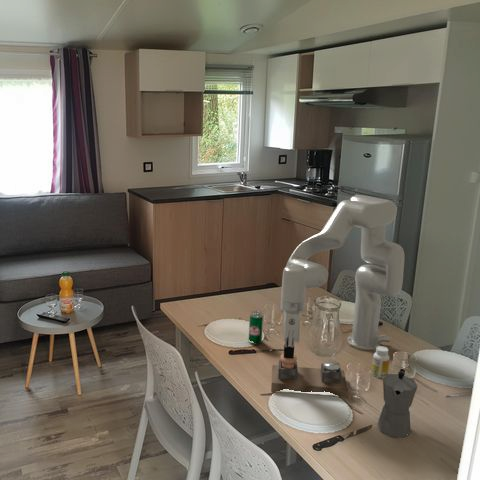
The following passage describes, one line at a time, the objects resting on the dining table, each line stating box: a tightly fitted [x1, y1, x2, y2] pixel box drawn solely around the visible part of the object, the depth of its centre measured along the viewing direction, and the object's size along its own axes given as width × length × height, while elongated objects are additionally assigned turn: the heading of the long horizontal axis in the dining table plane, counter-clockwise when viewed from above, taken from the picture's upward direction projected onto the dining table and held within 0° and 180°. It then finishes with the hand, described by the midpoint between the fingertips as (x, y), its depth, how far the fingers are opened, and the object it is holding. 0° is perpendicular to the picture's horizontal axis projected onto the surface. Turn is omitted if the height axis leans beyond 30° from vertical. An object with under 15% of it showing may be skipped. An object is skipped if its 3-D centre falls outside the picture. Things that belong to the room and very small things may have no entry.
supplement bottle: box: [371, 345, 390, 379], centre depth 184 cm, size 5×5×10 cm
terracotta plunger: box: [280, 353, 298, 369], centre depth 175 cm, size 5×5×5 cm
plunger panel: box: [270, 359, 349, 398], centre depth 175 cm, size 24×12×6 cm, turn 86°
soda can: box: [248, 310, 264, 345], centre depth 204 cm, size 5×5×12 cm
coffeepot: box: [377, 368, 418, 438], centre depth 153 cm, size 15×9×18 cm, turn 158°
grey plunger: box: [323, 360, 341, 372], centre depth 174 cm, size 5×5×5 cm
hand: (288, 357), depth 174 cm, fingers closed
